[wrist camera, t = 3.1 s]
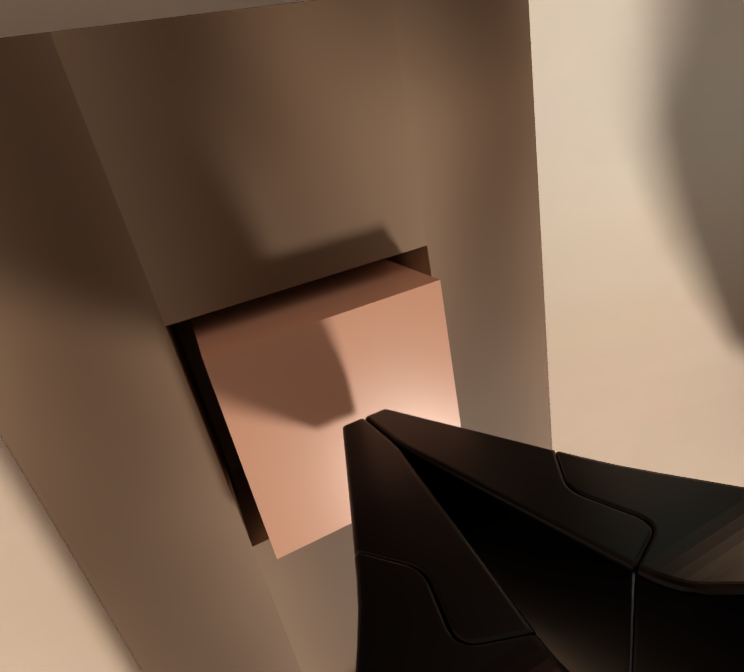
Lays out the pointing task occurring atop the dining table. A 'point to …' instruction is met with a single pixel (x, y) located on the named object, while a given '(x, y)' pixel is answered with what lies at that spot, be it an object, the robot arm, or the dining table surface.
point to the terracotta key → (324, 383)
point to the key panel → (247, 279)
